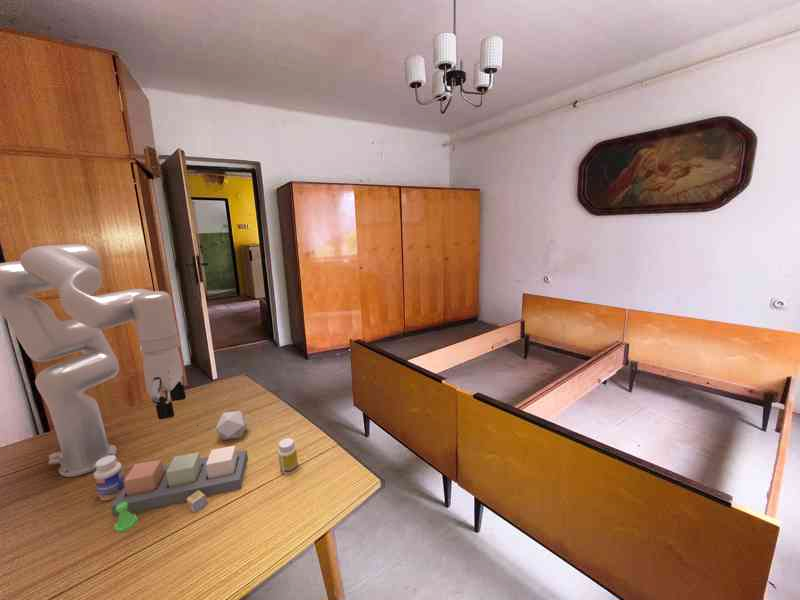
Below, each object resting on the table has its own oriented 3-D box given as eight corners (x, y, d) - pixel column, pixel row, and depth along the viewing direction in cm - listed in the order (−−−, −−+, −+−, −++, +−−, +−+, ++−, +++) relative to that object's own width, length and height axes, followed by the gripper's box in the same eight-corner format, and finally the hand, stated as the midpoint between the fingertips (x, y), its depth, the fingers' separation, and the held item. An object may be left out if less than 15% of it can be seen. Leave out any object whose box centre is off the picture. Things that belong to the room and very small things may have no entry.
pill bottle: (96, 504, 82) (87, 471, 80) (103, 489, 87) (95, 457, 85) (124, 495, 85) (115, 463, 82) (129, 481, 89) (121, 450, 87)
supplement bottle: (301, 465, 94) (298, 439, 92) (289, 476, 90) (286, 450, 88) (288, 460, 96) (285, 435, 94) (276, 471, 92) (273, 445, 90)
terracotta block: (127, 497, 81) (123, 481, 80) (138, 480, 87) (135, 464, 86) (155, 492, 83) (152, 475, 82) (165, 475, 89) (161, 459, 87)
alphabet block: (194, 513, 79) (192, 503, 78) (188, 508, 81) (186, 498, 80) (207, 504, 82) (205, 494, 81) (200, 499, 83) (198, 489, 83)
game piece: (111, 535, 74) (105, 514, 72) (118, 520, 78) (112, 499, 76) (134, 528, 76) (129, 507, 74) (140, 513, 79) (135, 493, 78)
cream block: (208, 480, 86) (205, 464, 85) (214, 465, 92) (211, 449, 91) (233, 475, 88) (231, 459, 87) (237, 460, 94) (235, 445, 92)
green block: (169, 489, 84) (165, 472, 83) (177, 472, 89) (174, 456, 88) (195, 483, 86) (192, 467, 84) (202, 467, 91) (199, 452, 90)
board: (113, 517, 79) (110, 506, 78) (136, 480, 90) (134, 471, 89) (240, 488, 86) (239, 479, 86) (247, 458, 97) (246, 449, 97)
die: (232, 449, 102) (249, 419, 104) (205, 437, 101) (223, 407, 103) (240, 442, 111) (256, 414, 113) (215, 430, 110) (232, 402, 112)
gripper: (156, 333, 86) (168, 394, 90) (123, 359, 69) (140, 431, 74) (189, 330, 88) (199, 389, 92) (164, 354, 72) (178, 425, 76)
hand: (173, 408), depth 83 cm, fingers open, 7 cm apart
